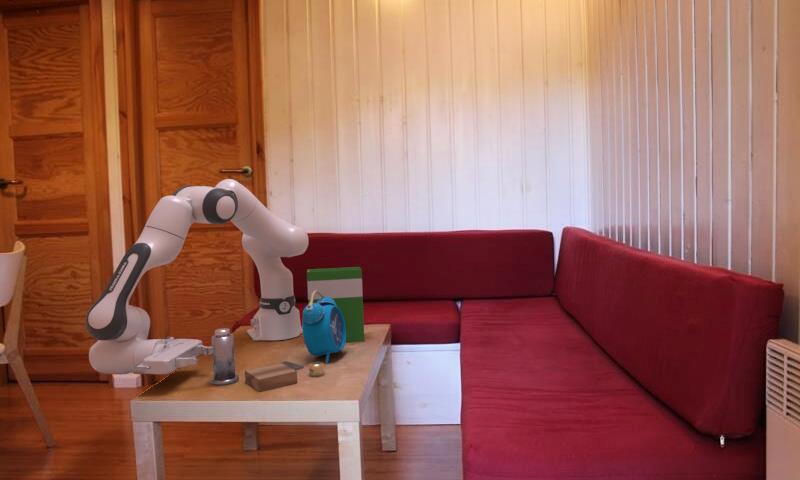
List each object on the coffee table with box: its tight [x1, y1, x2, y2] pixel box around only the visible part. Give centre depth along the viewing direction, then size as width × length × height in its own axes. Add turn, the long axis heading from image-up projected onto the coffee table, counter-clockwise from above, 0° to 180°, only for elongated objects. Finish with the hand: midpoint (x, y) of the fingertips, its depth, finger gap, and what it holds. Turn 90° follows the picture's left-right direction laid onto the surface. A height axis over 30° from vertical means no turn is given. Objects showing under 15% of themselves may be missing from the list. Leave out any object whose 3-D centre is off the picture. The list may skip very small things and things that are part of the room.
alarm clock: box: [301, 290, 346, 364], centre depth 160 cm, size 17×10×20 cm, turn 168°
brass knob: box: [308, 361, 325, 378], centre depth 143 cm, size 4×4×3 cm
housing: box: [210, 327, 240, 387], centre depth 140 cm, size 7×7×14 cm
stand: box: [244, 362, 298, 393], centre depth 138 cm, size 10×10×3 cm
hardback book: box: [306, 266, 365, 344], centre depth 179 cm, size 18×7×24 cm, turn 99°
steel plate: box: [280, 361, 305, 371], centre depth 150 cm, size 8×6×1 cm
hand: (204, 355), depth 141 cm, fingers open, 8 cm apart
